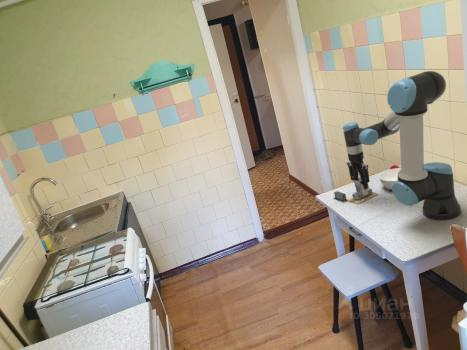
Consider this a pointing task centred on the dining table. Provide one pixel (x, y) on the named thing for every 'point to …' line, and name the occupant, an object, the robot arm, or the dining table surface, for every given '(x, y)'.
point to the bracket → (394, 167)
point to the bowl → (389, 177)
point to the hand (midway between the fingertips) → (362, 193)
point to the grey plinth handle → (342, 196)
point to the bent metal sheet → (359, 189)
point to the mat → (363, 198)
